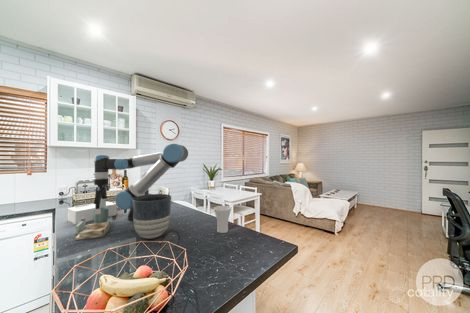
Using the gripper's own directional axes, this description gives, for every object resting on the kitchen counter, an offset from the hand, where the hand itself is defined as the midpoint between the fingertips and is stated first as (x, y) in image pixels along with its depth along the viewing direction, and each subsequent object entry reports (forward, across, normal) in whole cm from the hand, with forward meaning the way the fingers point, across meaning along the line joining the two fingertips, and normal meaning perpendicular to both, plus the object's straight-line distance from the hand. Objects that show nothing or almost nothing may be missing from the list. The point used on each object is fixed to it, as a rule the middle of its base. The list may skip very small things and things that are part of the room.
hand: (100, 211), depth 125 cm
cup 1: (+9, 0, 0) cm, 9 cm away
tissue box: (+9, -19, -9) cm, 23 cm away
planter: (+8, +35, +32) cm, 48 cm away
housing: (+8, +17, 0) cm, 19 cm away
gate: (+8, +9, -8) cm, 15 cm away
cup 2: (+7, +42, +70) cm, 82 cm away
